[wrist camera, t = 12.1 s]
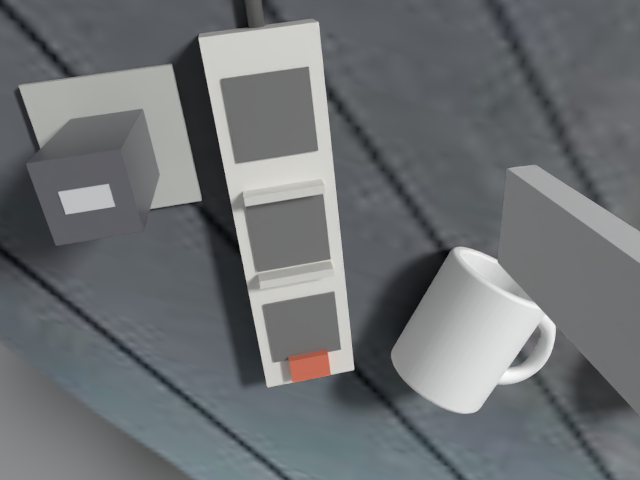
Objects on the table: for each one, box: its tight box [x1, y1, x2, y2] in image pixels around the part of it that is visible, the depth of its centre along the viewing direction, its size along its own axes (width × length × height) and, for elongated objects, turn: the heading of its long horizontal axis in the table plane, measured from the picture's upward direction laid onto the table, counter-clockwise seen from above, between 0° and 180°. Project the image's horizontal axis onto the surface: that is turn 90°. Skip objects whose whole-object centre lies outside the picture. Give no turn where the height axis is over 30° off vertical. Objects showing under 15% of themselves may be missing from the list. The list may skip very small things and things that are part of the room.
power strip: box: [198, 0, 354, 387], centre depth 36 cm, size 34×7×4 cm, turn 6°
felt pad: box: [19, 64, 202, 209], centre depth 35 cm, size 9×9×1 cm
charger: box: [26, 109, 160, 246], centre depth 31 cm, size 4×4×9 cm
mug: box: [391, 247, 555, 414], centre depth 43 cm, size 12×10×8 cm
